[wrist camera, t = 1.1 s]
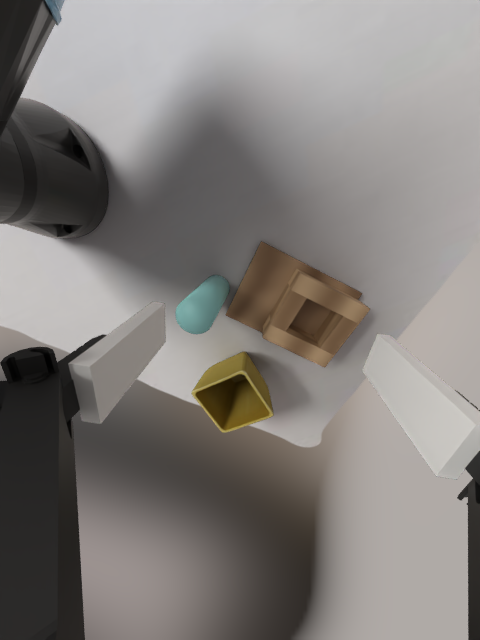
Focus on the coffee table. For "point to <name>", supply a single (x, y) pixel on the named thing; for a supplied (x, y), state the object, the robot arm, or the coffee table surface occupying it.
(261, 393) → the flower pot
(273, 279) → the socket board
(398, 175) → the coffee table surface
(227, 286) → the peg
